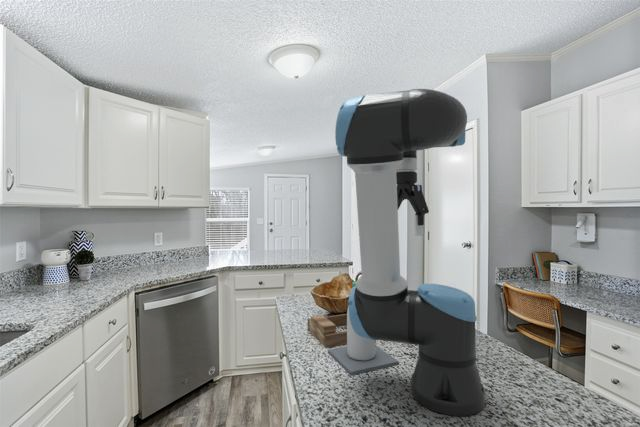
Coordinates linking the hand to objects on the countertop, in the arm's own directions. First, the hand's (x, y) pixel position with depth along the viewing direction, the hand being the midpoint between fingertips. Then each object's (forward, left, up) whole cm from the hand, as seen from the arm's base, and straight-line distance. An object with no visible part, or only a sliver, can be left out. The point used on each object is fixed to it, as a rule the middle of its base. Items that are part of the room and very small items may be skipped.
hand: (405, 234), depth 114 cm
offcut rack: (+3, +24, -32) cm, 40 cm away
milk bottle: (-15, +26, -31) cm, 43 cm away
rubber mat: (-15, +26, -32) cm, 44 cm away
